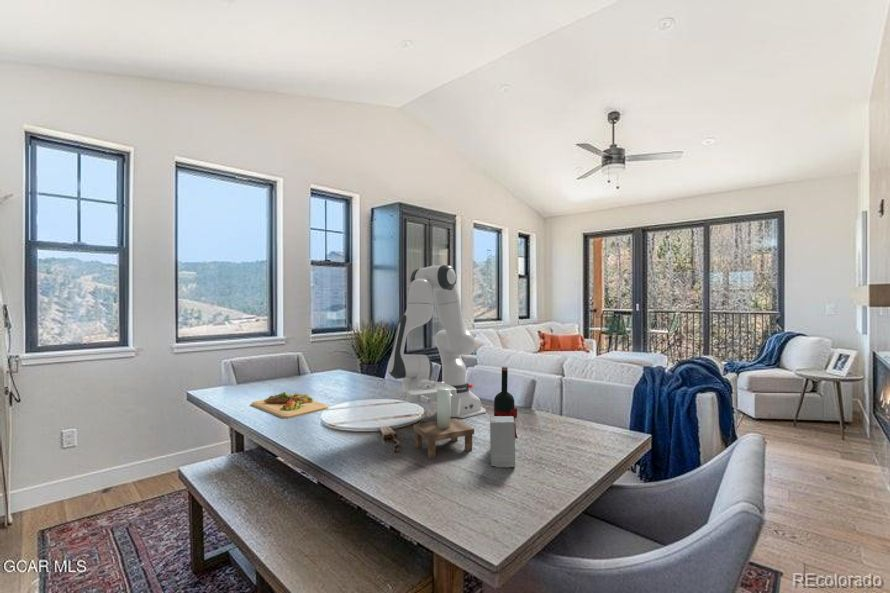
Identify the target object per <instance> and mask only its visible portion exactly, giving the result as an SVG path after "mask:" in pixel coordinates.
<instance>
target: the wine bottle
mask: <svg viewBox="0 0 890 593" xmlns="http://www.w3.org/2000/svg"><path fill="white" fill-rule="evenodd" d="M508 369H509V367H508V366H501V391H500V392H498V393H496V395H495V397H494V400H493V401H494V402H493V416H513V417H514V421H515V422H516V419H517V418H518V408H517V407H515V398H514V396H513V395H512V393H510V392H509V391H508V374H509V371H508ZM518 439H519V438H518V435H517V426H516V424H515V440H518Z"/></svg>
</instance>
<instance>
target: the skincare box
mask: <svg viewBox="0 0 890 593" xmlns="http://www.w3.org/2000/svg"><path fill="white" fill-rule="evenodd" d="M515 425H516V420H515V421H514V417H513V416H494V415H490V419H489V434H490V435H489V436H490V437H489V438H490V439H489V440H490V441H489V442H490V443H489V444H490V445H489V446H490V449H489V450H490V466H496V467H495V468H509V467H515V468H516V439H515Z"/></svg>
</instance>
